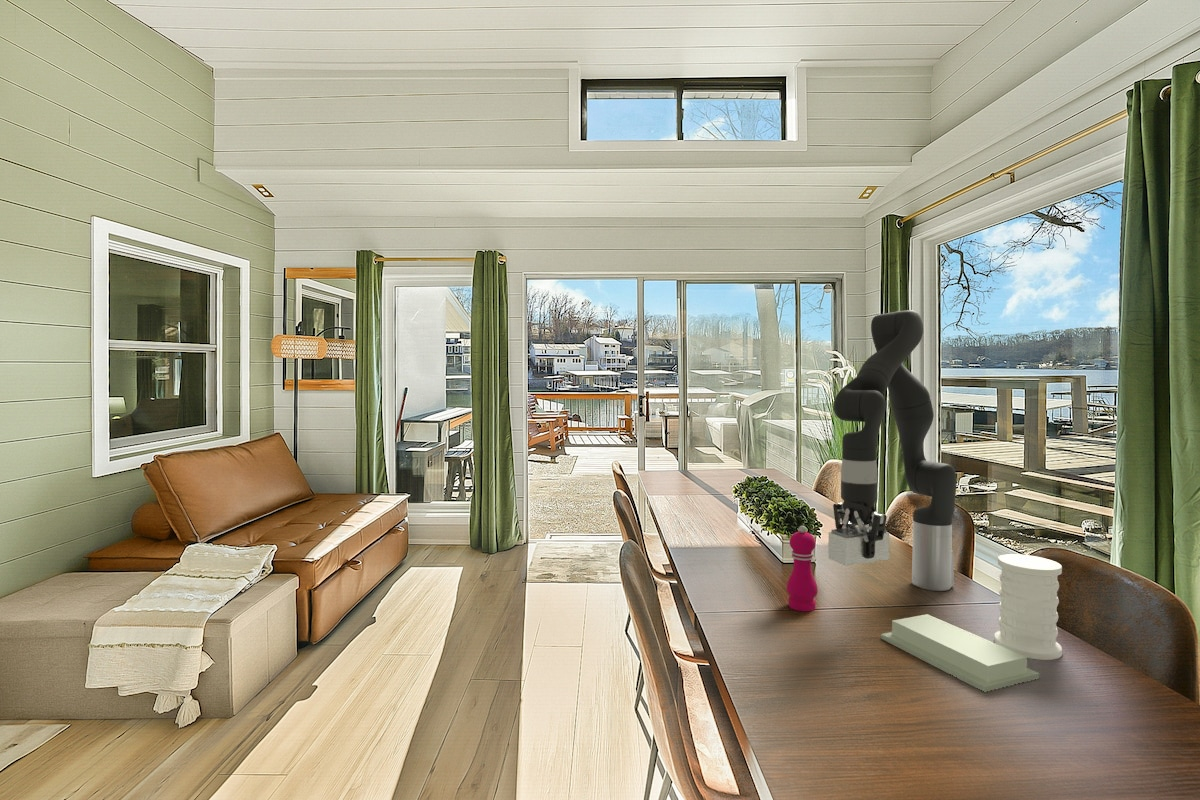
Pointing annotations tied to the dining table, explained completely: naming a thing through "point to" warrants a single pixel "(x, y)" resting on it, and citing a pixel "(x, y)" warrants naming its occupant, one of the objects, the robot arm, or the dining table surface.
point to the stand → (960, 652)
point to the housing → (855, 546)
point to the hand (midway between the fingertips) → (858, 553)
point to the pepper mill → (802, 572)
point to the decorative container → (1029, 606)
